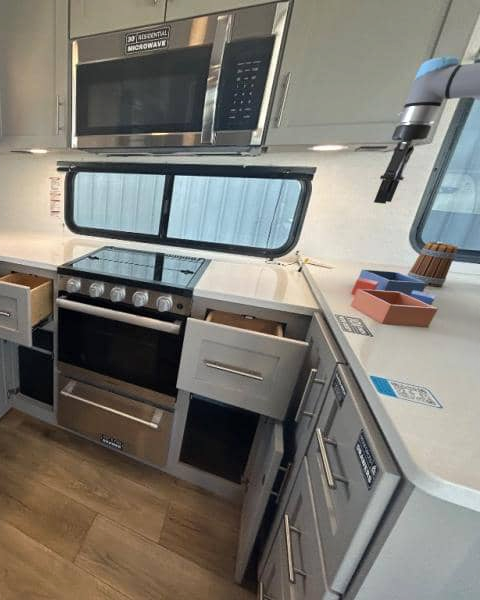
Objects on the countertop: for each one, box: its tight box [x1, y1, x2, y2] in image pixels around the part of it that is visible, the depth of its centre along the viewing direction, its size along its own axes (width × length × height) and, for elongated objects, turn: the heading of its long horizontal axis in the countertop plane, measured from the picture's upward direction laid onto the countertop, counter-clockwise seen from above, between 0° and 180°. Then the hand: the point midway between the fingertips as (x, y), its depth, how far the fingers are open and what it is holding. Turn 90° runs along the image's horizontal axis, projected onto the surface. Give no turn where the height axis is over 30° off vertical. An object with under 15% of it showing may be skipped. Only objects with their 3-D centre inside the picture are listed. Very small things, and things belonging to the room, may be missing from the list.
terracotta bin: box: [350, 289, 439, 328], centre depth 93 cm, size 12×12×6 cm
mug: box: [406, 241, 458, 288], centre depth 127 cm, size 16×11×15 cm
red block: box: [350, 277, 378, 296], centre depth 109 cm, size 5×5×5 cm
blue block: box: [410, 290, 436, 306], centre depth 99 cm, size 5×5×5 cm
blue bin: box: [357, 269, 427, 296], centre depth 114 cm, size 12×12×6 cm
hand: (382, 202), depth 102 cm, fingers open, 13 cm apart
